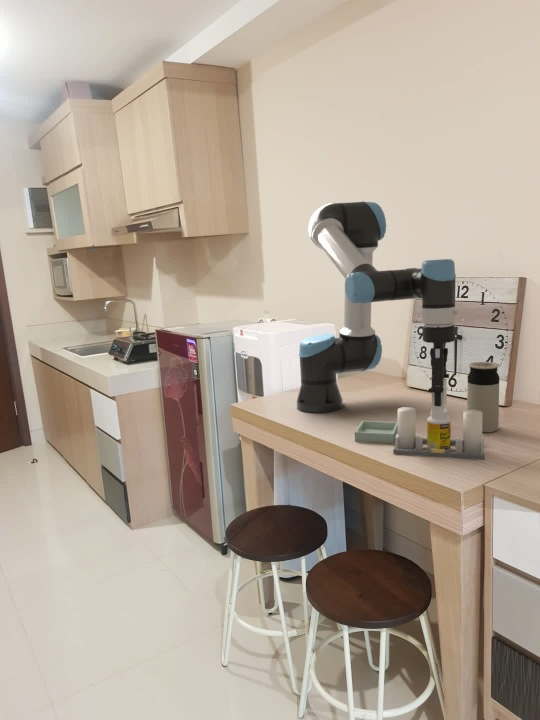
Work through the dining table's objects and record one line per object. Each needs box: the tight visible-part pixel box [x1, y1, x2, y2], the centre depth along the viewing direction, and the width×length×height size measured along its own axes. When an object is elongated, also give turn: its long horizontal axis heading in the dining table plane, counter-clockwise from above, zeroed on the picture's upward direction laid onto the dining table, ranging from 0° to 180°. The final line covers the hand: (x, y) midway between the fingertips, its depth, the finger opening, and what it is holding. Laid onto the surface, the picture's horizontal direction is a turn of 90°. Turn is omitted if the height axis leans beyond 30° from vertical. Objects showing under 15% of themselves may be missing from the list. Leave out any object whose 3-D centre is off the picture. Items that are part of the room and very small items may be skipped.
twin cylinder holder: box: [392, 406, 485, 461], centre depth 135 cm, size 21×10×10 cm, turn 70°
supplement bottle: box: [426, 408, 452, 452], centre depth 135 cm, size 6×6×10 cm
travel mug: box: [466, 361, 500, 434], centre depth 148 cm, size 8×8×18 cm
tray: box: [354, 420, 398, 444], centre depth 148 cm, size 10×10×2 cm
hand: (439, 411), depth 134 cm, fingers open, 13 cm apart
